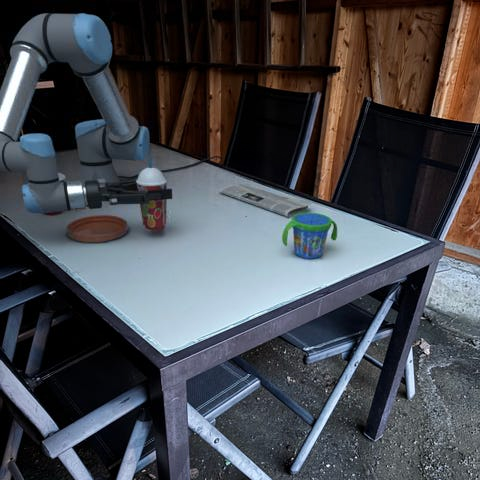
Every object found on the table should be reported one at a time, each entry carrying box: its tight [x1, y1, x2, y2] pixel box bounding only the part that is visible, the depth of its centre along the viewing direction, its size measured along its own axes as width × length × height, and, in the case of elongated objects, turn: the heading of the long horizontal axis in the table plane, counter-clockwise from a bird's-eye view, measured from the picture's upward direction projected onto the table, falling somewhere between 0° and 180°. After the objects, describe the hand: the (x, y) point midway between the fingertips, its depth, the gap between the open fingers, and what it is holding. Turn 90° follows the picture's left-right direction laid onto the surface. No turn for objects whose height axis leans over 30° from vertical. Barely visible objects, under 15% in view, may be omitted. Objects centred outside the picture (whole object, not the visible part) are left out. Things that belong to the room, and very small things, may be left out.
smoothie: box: [135, 156, 168, 232], centre depth 134 cm, size 8×8×20 cm
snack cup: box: [281, 212, 338, 260], centre depth 128 cm, size 16×10×10 cm
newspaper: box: [219, 183, 313, 218], centre depth 168 cm, size 35×12×4 cm, turn 43°
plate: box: [66, 214, 129, 243], centre depth 141 cm, size 17×17×2 cm
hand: (168, 189), depth 134 cm, fingers closed on smoothie, 8 cm apart
